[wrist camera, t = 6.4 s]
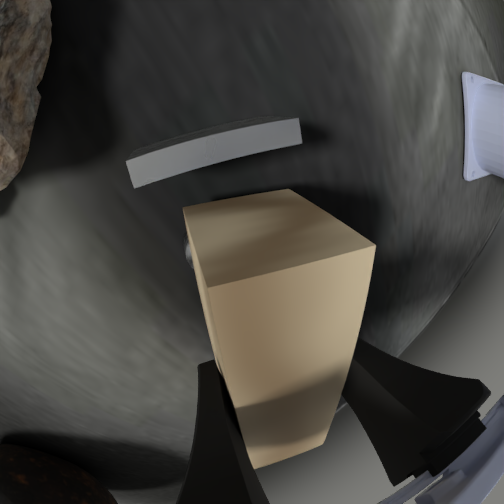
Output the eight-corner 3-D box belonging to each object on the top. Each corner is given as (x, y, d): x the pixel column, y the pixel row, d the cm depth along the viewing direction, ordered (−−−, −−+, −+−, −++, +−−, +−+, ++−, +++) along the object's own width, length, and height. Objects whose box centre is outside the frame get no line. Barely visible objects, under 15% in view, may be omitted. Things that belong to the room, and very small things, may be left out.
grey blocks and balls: (263, 116, 10) (298, 117, 8) (299, 376, 19) (317, 407, 16) (134, 149, 9) (125, 161, 7) (233, 401, 18) (246, 436, 15)
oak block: (289, 188, 10) (375, 245, 6) (287, 380, 16) (323, 444, 12) (182, 207, 10) (207, 288, 5) (226, 399, 15) (252, 469, 11)
